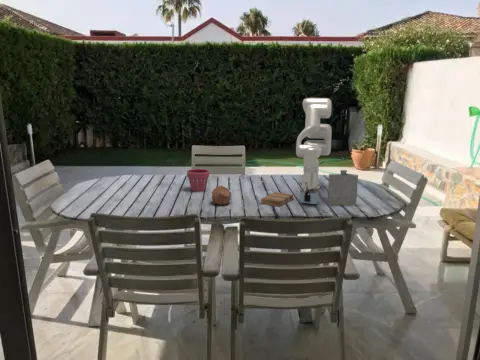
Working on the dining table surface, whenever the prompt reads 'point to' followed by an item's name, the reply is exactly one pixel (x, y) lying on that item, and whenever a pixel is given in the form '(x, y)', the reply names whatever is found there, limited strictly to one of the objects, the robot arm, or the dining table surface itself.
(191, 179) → the plant pot
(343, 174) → the hip flask
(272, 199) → the stand
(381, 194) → the dining table surface
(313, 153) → the robot arm
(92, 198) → the dining table surface
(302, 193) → the block
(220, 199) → the decorative rock
